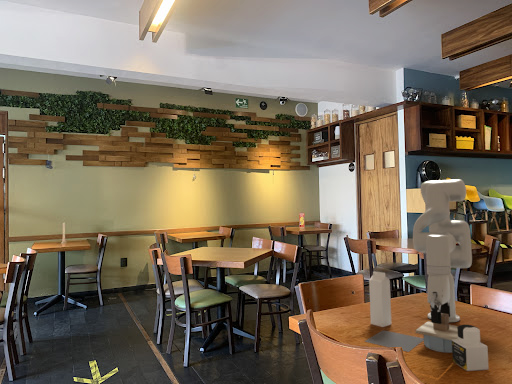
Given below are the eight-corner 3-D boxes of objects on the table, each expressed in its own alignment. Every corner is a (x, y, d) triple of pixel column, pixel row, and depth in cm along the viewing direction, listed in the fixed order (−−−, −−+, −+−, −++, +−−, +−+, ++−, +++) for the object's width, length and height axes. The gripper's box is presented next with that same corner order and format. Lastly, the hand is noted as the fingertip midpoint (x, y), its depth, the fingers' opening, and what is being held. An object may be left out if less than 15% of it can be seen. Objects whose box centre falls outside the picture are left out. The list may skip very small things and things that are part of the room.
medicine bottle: (452, 361, 120) (450, 323, 121) (473, 360, 121) (471, 322, 122) (466, 371, 113) (464, 330, 114) (489, 370, 114) (487, 329, 114)
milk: (383, 328, 154) (380, 274, 155) (370, 325, 159) (368, 272, 160) (391, 325, 158) (389, 272, 158) (379, 322, 163) (377, 270, 163)
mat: (383, 331, 150) (383, 330, 150) (425, 340, 140) (425, 338, 140) (364, 343, 139) (364, 341, 139) (408, 353, 128) (408, 351, 128)
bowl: (430, 340, 140) (430, 324, 140) (464, 347, 132) (463, 330, 133) (420, 348, 132) (419, 332, 132) (454, 356, 124) (454, 339, 124)
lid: (428, 323, 141) (427, 307, 142) (467, 330, 133) (466, 313, 133) (415, 332, 132) (414, 315, 132) (456, 341, 123) (455, 322, 123)
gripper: (435, 265, 142) (437, 312, 141) (418, 272, 129) (421, 323, 128) (457, 267, 137) (459, 315, 136) (442, 274, 124) (444, 328, 123)
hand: (440, 319), depth 132 cm, fingers open, 9 cm apart
